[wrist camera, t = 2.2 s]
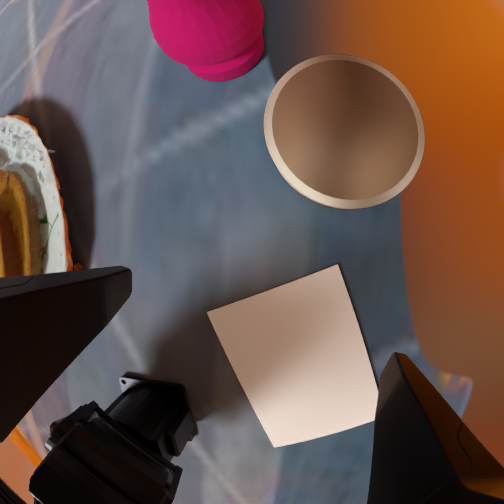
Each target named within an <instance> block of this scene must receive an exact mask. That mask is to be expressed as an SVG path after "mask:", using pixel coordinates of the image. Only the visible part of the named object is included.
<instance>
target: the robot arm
mask: <svg viewBox="0 0 504 504" xmlns="http://www.w3.org/2000/svg"><path fill="white" fill-rule="evenodd" d="M131 292H132V272H131V270H130V269H129V268H126V267H124V266H113V267H104V268H94V269H85V270H75V271H66V272H56V273H47V274H37V275H27V276H16V277H1V278H0V443H2V442H3V441H4V440H5V439H6V437H7V436H8V435H9V434H10V433H11V431H12V430H13V429H14V428H15V427H16V425H17V424H18V423H19V422H20V421H21V419H22V418H23V417H24V416H25V415H26V414H27V412H28V411H29V410H30V409H31V408H32V407H33V405H34V404H35V402H37V401H38V399H39V398H40V397H41V396H42V395H43V394H44V393H45V391H46V390H47V389H48V388H49V387H50V386H51V385H52V384H53V383H54V381H55V380H56V379H57V378H58V377H59V376H60V375H61V374H62V373H63V371H64V370H65V369H66V368H67V367H68V366H69V365H70V364H71V363H72V362H73V361H74V359H75V358H76V357H77V356H78V355H79V354H80V353H81V352H82V351H83V350H84V349H85V348H86V347H87V346H88V345H89V343H90V342H91V341H92V340H93V339H94V338H95V337H96V336H97V335H98V334H99V333H100V332H101V331H102V330H103V329H104V328H105V327H106V326H107V324H108V323H109V322H110V321H111V320H112V318H113V317H114V316H115V314H116V313H117V312H118V311H119V309H120V308H121V307H122V306H123V304H124V303H125V302H126V301H127V299H128V298H129V297H130V295H131ZM124 380H125V381H126V382H125V381H124ZM119 382H120V386H121V390H122V394H121V395H120V396H119V397H118V398H117V399H116V400H115V401H114V402H113V403H112V404H111V405H110V406H109V407H108V408H107V409H106V410H105V411H103V410H102V409H101V408H100V407H99V405H98V404H97V403H96V402H95V401H92V402H91V403H89V404H88V405H87V404H85V405H83V406H80V407H79V408H78V409H77V410H75V411H74V412H73V413H72V414H70V415H69V416H67V417H65V418H62V419H60V420H57V421H54V422H53V423H52V424H51V425H50V436H49V438H48V440H47V442H46V444H45V448H46V449H47V450H48V451H49V454H48V455H47V456H46V457H45V458H44V460H43V461H42V462H41V463H40V465H39V466H38V467H37V468H36V470H35V471H34V474H33V475H32V476H31V478H30V484H29V492H30V493H31V494H32V495H33V496H34V504H172V502H173V500H174V497H175V494H176V491H177V487H178V484H179V480H180V477H181V474H182V470H183V469H182V468H180V467H179V466H175V465H174V464H172V463H171V460H172V458H173V456H176V457H178V456H179V455H180V454H181V452H182V450H183V449H184V447H185V445H186V443H187V441H192V440H193V438H194V434H193V430H194V425H193V419H192V414H191V409H190V407H189V406H188V403H187V398H186V392H185V388H184V387H183V386H182V385H181V384H175V383H168V382H161V381H154V380H148V379H142V378H136V377H130V376H125V375H123V376H122V377H120V379H119ZM177 389H179V390H180V391H178V390H177ZM0 504H27V503H26V502H25V501H24V500H22V499H21V498H20V497H19V496H18V495H17V494H16V493H15V492H14V491H13V490H12V489H11V488H10V487H9V486H8V485H7V484H6V482H5V481H4V480H3V479H2V478H1V477H0ZM367 504H504V467H503V466H502V465H501V464H500V463H499V462H498V461H497V460H496V459H495V458H494V456H493V455H492V454H491V453H490V452H489V451H488V450H487V449H486V448H485V447H484V446H483V445H482V443H481V442H480V441H479V440H478V439H477V438H476V437H475V436H474V435H473V433H472V432H471V431H470V430H469V428H468V427H467V426H466V425H465V423H464V422H462V420H461V418H460V417H459V416H458V415H457V414H456V412H455V411H454V410H453V409H452V408H451V406H450V405H449V404H448V403H447V402H446V400H445V399H444V398H443V397H442V396H441V394H440V393H439V392H438V391H437V390H436V389H435V387H434V386H433V385H432V384H431V383H430V382H429V380H428V379H427V378H426V377H425V376H424V375H423V374H422V372H421V371H420V370H419V369H418V368H417V367H416V365H415V364H414V363H413V362H412V361H411V360H410V359H409V358H408V356H407V355H405V354H402V353H398V352H394V353H393V354H392V355H391V357H390V359H389V360H388V362H387V364H386V366H385V368H384V370H383V372H382V374H381V378H380V385H379V393H378V400H377V406H376V413H375V422H374V439H373V454H372V465H371V476H370V485H369V493H368V501H367Z"/></svg>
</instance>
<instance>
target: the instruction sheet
mask: <svg viewBox="0 0 504 504" xmlns="http://www.w3.org/2000/svg"><path fill="white" fill-rule="evenodd" d="M207 314H208V316H209V319H210V321H211V323H212V325H213V327H214V330H215V332H216V334H217V336H218V338H219V340H220V342H221V345H222V347H223V349H224V351H225V353H226V355H227V357H228V359H229V361H230V363H231V365H232V367H233V370H234V372H235V374H236V376H237V378H238V380H239V382H240V384H241V386H242V388H243V390H244V392H245V394H246V395H247V397H248V399H249V401H250V403H251V405H252V407H253V409H254V411H255V413H256V415H257V417H258V419H259V420H260V422H261V424H262V426H263V428H264V430H265V432H266V433H267V435H268V437H269V439H270V441H271V443H272V444H273V446H274V448H275V447H280V446H285V445H290V444H294V443H298V442H303V441H307V440H311V439H315V438H319V437H322V436H326V435H330V434H333V433H337V432H340V431H343V430H347V429H350V428H353V427H356V426H359V425H362V424H365V423H368V422H371V421H374V420H375V413H376V406H377V400H378V389H377V386H376V382H375V378H374V375H373V371H372V368H371V364H370V361H369V358H368V354H367V351H366V348H365V344H364V341H363V338H362V335H361V331H360V328H359V325H358V322H357V319H356V316H355V313H354V310H353V307H352V304H351V301H350V298H349V295H348V292H347V289H346V286H345V283H344V280H343V278H342V275H341V272H340V269H339V266H338V264H336V265H334V266H331V267H328V268H326V269H323V270H321V271H318V272H315V273H313V274H310V275H308V276H305V277H302V278H300V279H297V280H294V281H292V282H289V283H286V284H284V285H281V286H278V287H276V288H273V289H270V290H267V291H265V292H262V293H259V294H256V295H254V296H251V297H248V298H245V299H243V300H240V301H237V302H234V303H231V304H228V305H225V306H223V307H220V308H217V309H214V310H211V311H208V312H207Z"/></svg>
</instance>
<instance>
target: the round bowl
mask: <svg viewBox="0 0 504 504" xmlns="http://www.w3.org/2000/svg"><path fill="white" fill-rule="evenodd" d="M264 133H265V140H266V143H267V147H268V150H269V152H270V155H271V157H272V159H273V161H274V163H275V164H276V166H277V168H278V170H279V171H280V173H281V175H282V176H283V177H284V179H285V180H286V181H287V182H288V183H289V184H290V185H291V186H292V187H293V188H294V189H295V190H296V191H297V192H298V193H300V194H301V195H303V196H304V197H306V198H307V199H309V200H311V201H313V202H315V203H317V204H320V205H323V206H327V207H331V208H337V209H357V208H366V207H371V206H375V205H378V204H381V203H383V202H386V201H387V200H389V199H391V198H393V197H395V196H396V195H397V194H399V193H400V192H401V191H402V190H403V189H404V188H405V187H406V186H407V185H408V184H409V183H410V182H411V180H412V179H413V177H414V176H415V174H416V172H417V170H418V168H419V166H420V163H421V161H422V157H423V153H424V145H425V134H424V126H423V120H422V117H421V114H420V111H419V108H418V106H417V104H416V103H415V100H414V99H413V97H412V96H411V94H410V92H409V91H408V90H407V88H406V87H405V86H404V85H403V84H402V83H401V82H400V81H399V80H398V79H397V78H396V77H395V76H394V75H393V74H391V73H390V72H389V71H387V70H386V69H384V68H383V67H381V66H379V65H378V64H375V63H373V62H371V61H369V60H366V59H363V58H360V57H356V56H351V55H341V54H331V55H323V56H318V57H315V58H311V59H308V60H306V61H304V62H301V63H299V64H298V65H296V66H295V67H293V68H292V69H290V70H289V71H288V72H287V73H286V74H284V76H283V77H282V78H281V79H280V80H279V81H278V82H277V84H276V85H275V87H274V88H273V90H272V92H271V94H270V96H269V98H268V101H267V105H266V108H265V114H264Z"/></svg>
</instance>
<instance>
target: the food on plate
mask: <svg viewBox="0 0 504 504" xmlns="http://www.w3.org/2000/svg"><path fill="white" fill-rule="evenodd" d="M54 152H55V151H54V150H49V149H47V148H46V146H44V145H43V144H42V141H41V138H40V137H39V135H38V131H37V129H36V128H35V126H32V125H31V124H30V123H29V118H25V117H23V116H20V115H8V114H7V115H6V116H4V117H2V118H0V278H1V277H16V276H27V275H37V274H47V273H56V272H66V271H73V266H74V270H82V268H83V266H82V265H81V264H79V263H77V264H76V265H73V263H72V259H71V252H72V249H71V246H70V242H69V237H68V223H67V217H66V213H65V212H64V211H63V199H62V198H61V197H60V195H59V191H58V190H59V189H61V188H60V185H59V181H58V179H57V177H56V175H55V171H54V166H53V163H52V161H51V159H50V157H49V154H51V153H54Z"/></svg>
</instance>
